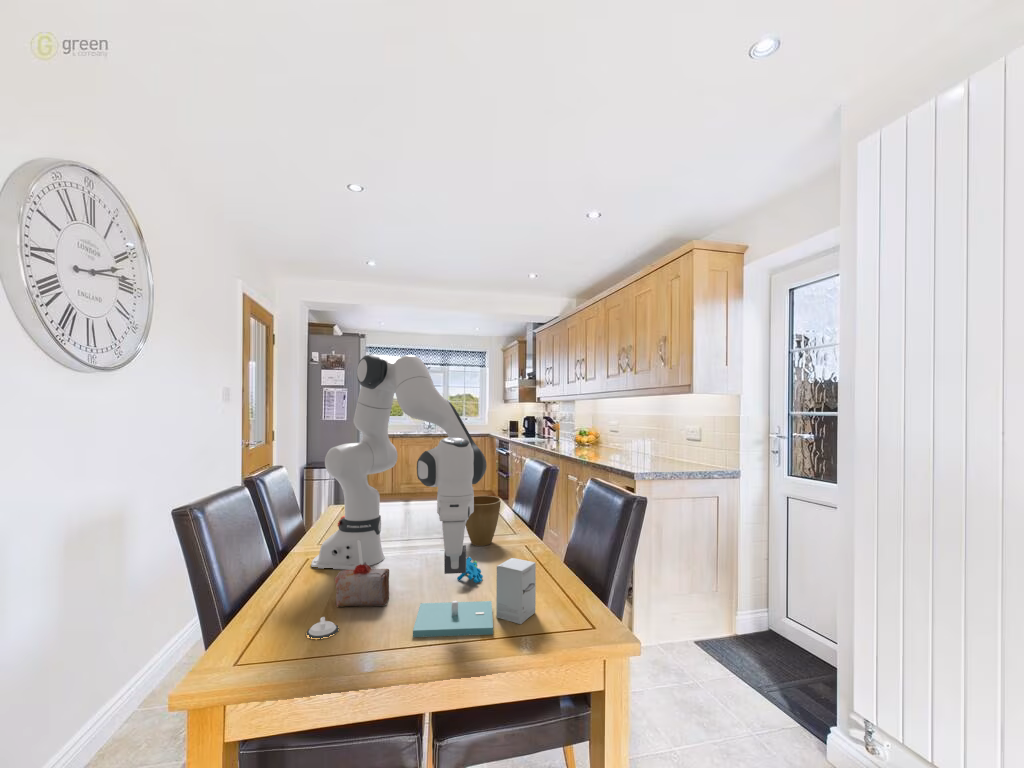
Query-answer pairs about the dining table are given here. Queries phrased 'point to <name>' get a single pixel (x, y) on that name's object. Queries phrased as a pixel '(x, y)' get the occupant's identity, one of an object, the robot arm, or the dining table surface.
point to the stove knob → (322, 629)
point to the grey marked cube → (461, 563)
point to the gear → (472, 571)
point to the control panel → (454, 619)
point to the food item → (362, 586)
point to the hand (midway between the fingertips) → (455, 563)
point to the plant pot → (483, 520)
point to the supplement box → (516, 590)
